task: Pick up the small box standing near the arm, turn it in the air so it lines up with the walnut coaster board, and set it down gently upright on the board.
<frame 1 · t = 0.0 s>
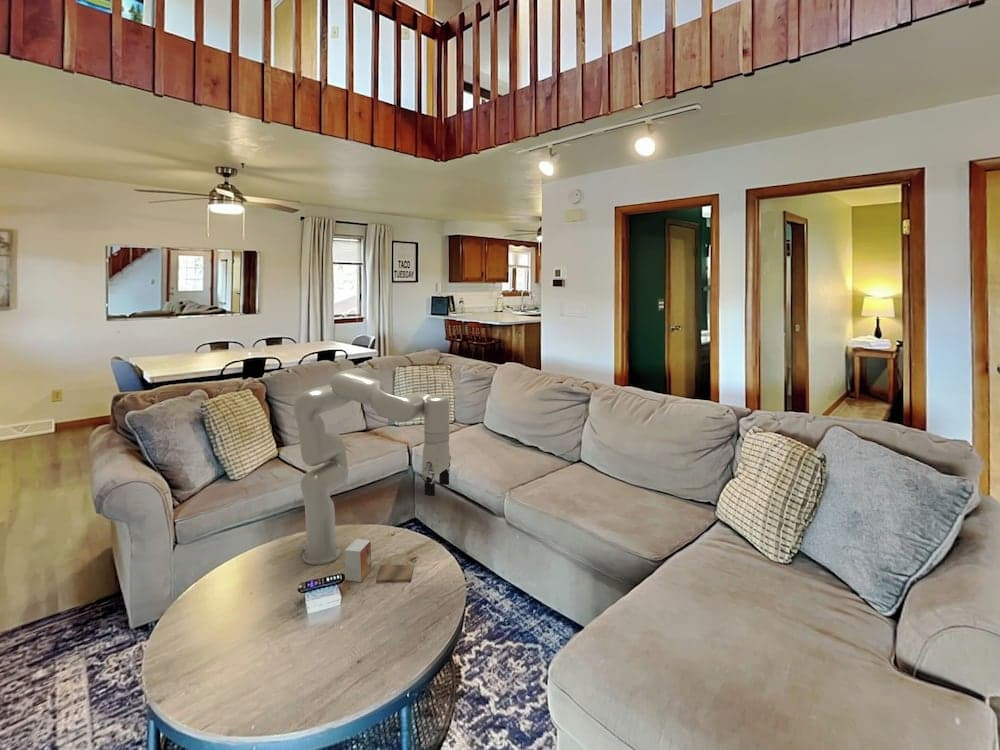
hand: (437, 489, 163), 31 cm above the table, tool pointing down, fingers open, 9 cm apart
small box: (358, 575, 172), on the table
walnut coaster board: (395, 574, 173), on the table
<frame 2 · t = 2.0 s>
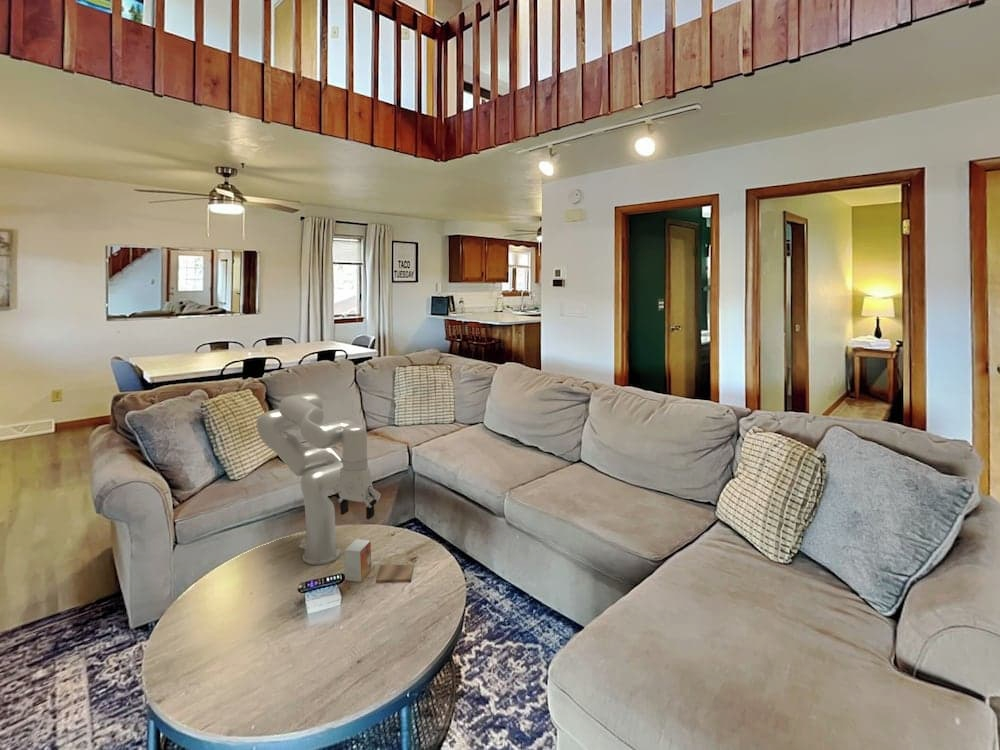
hand: (357, 515, 169), 21 cm above the table, tool pointing down, fingers open, 9 cm apart
nothing on the table moved.
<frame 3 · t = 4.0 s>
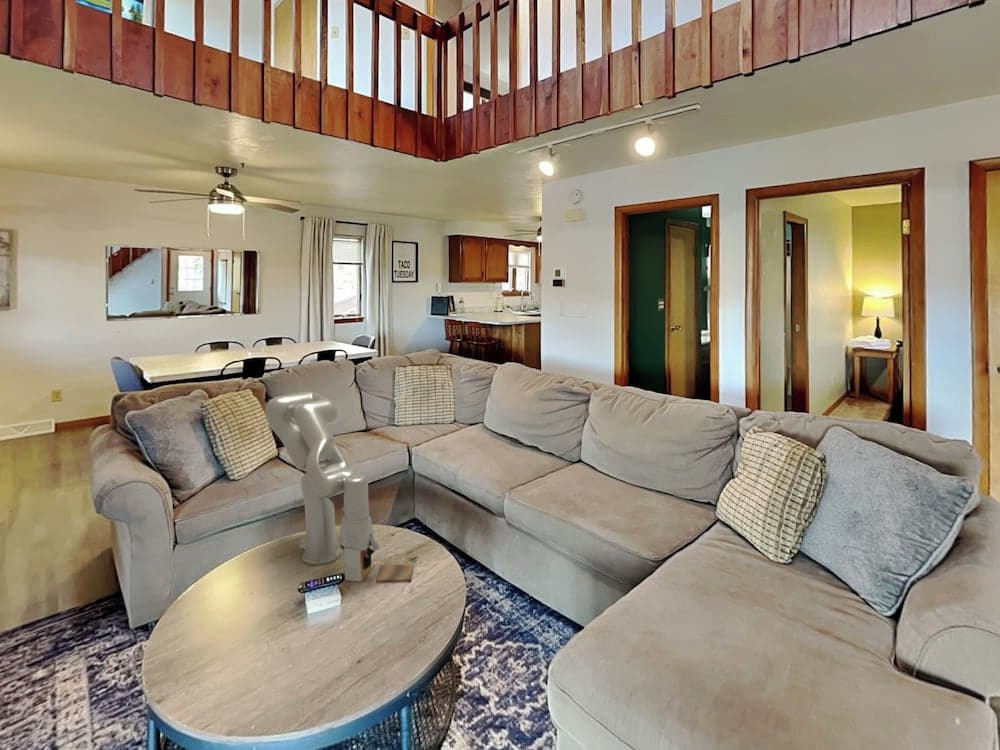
hand: (358, 564, 172), 4 cm above the table, tool pointing down, fingers closed on small box, 6 cm apart
small box: (358, 575, 172), on the table, touching gripper
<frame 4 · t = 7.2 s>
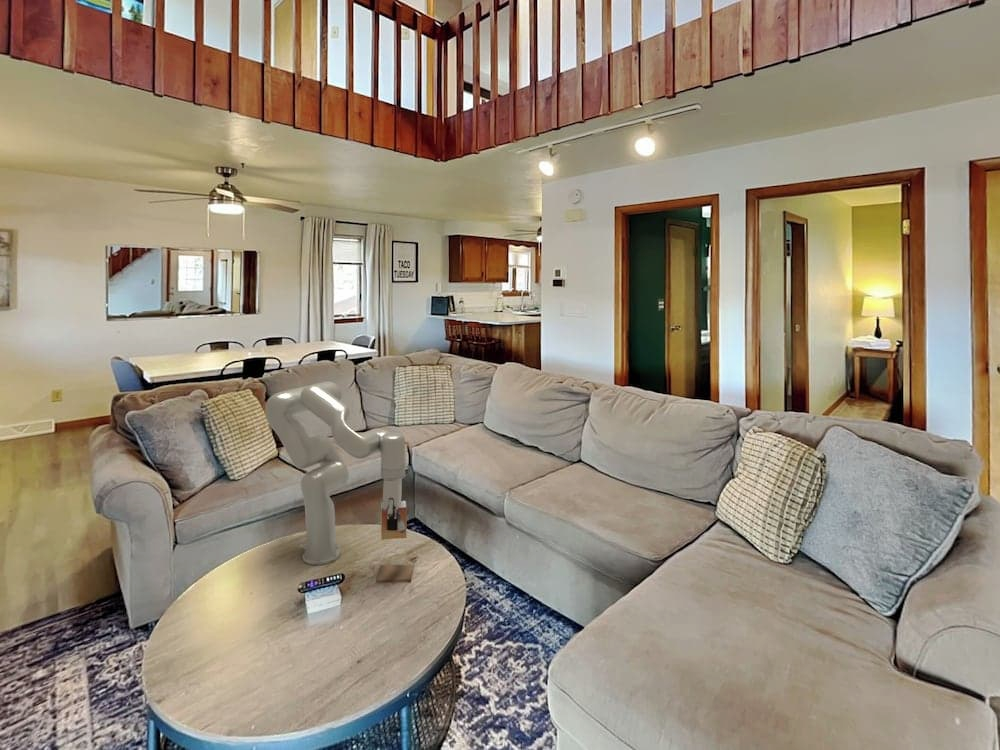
hand: (393, 524, 170), 17 cm above the table, tool pointing down, fingers closed on small box, 6 cm apart
small box: (393, 535, 170), point 14 cm above the table, touching gripper
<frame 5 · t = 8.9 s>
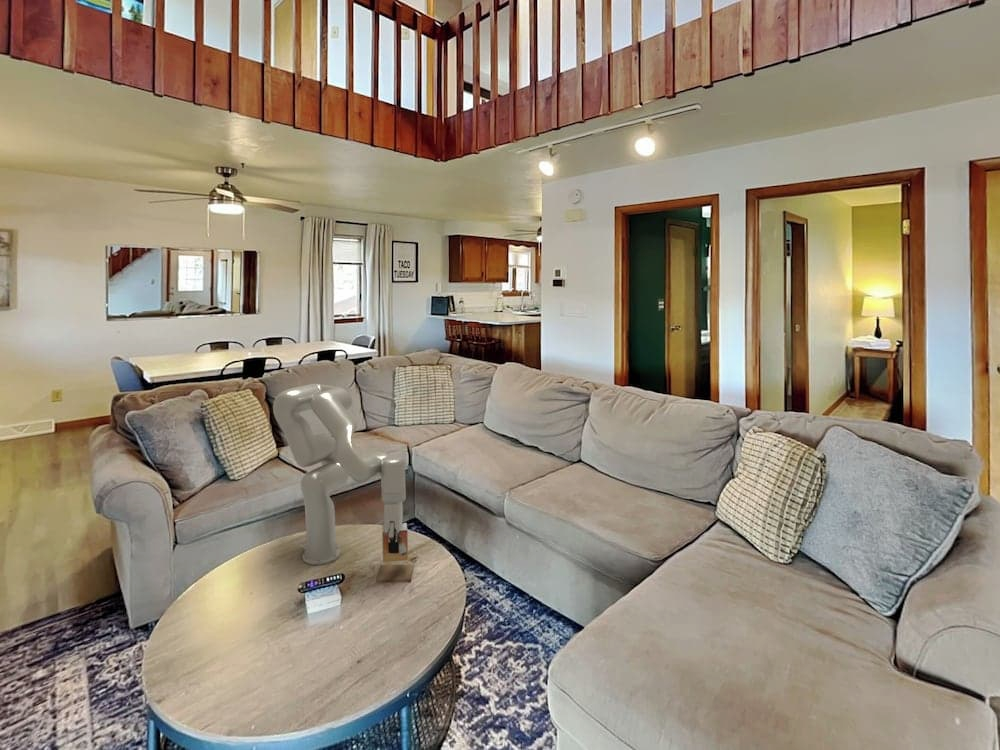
hand: (395, 547, 171), 10 cm above the table, tool pointing down, fingers closed on small box, 6 cm apart
small box: (395, 558, 172), point 6 cm above the table, touching gripper
when the fingers open (6 cm above the table, at t = 10.5 s): small box drops 1 cm, resting on walnut coaster board.
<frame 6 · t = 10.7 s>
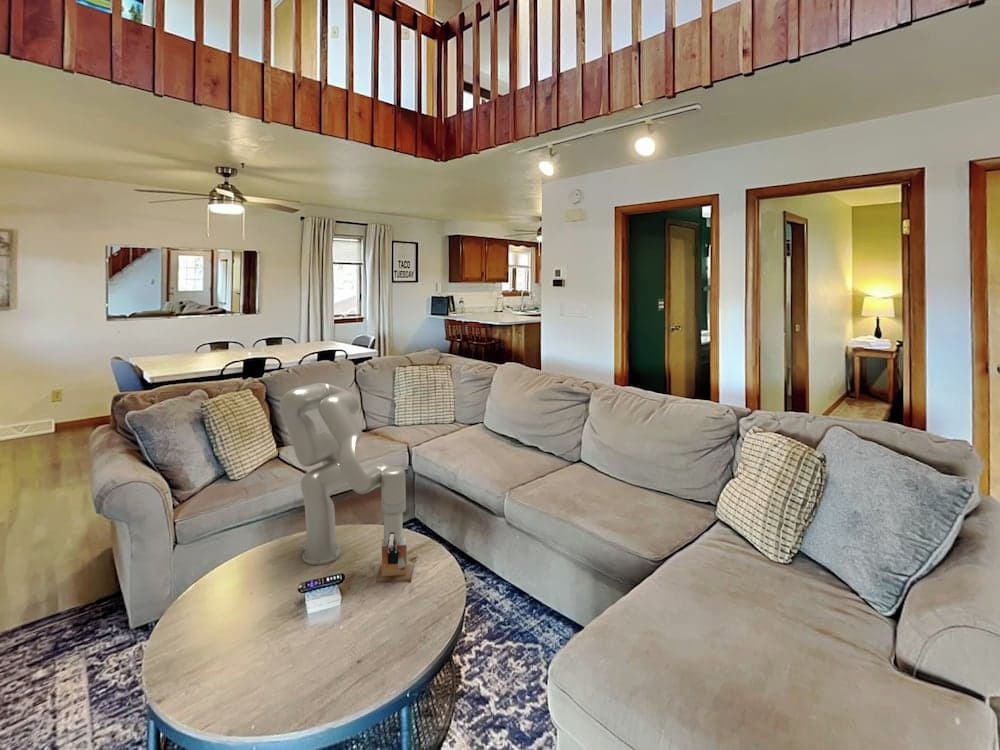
hand: (394, 556, 172), 6 cm above the table, tool pointing down, fingers open, 7 cm apart
small box: (394, 572, 173), point 1 cm above the table, touching walnut coaster board
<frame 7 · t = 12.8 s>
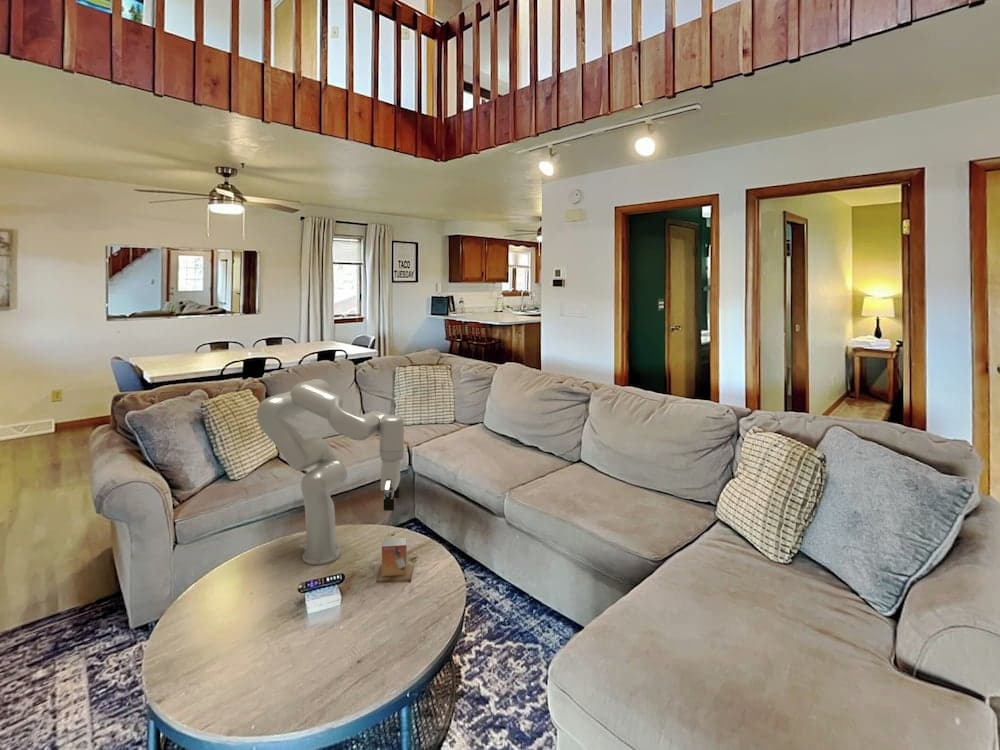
hand: (391, 503, 172), 23 cm above the table, tool pointing down, fingers open, 9 cm apart
nothing on the table moved.
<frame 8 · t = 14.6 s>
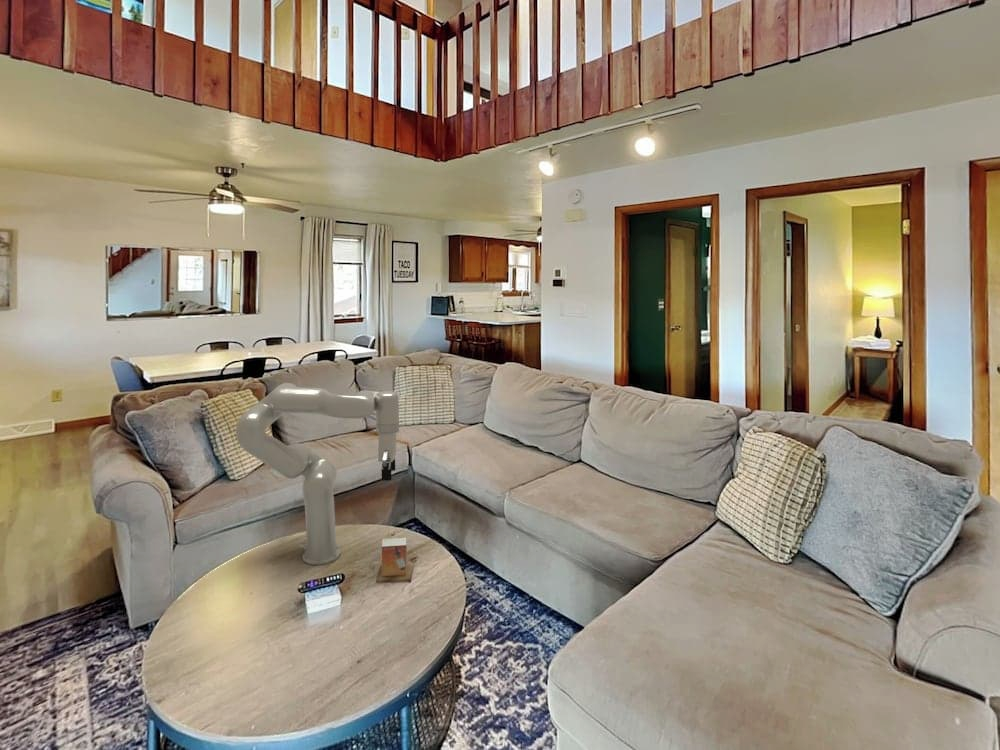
hand: (388, 475, 183), 28 cm above the table, tool pointing down, fingers open, 9 cm apart
nothing on the table moved.
at the end: small box 0.3 cm off-centre on the walnut coaster board, point 0.8 cm above the walnut coaster board's base; small box tilted 0°; the gripper is holding nothing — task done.
